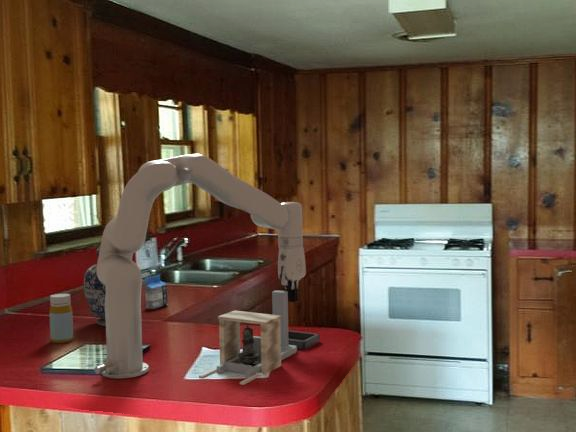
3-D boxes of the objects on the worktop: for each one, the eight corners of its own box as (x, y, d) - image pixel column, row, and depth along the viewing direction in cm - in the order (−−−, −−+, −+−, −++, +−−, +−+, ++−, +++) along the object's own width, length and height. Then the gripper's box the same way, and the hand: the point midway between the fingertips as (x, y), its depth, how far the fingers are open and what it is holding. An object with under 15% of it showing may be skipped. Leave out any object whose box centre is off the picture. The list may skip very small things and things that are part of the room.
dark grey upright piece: (248, 362, 195) (247, 321, 194) (263, 366, 191) (262, 324, 190) (233, 367, 190) (232, 325, 189) (249, 371, 186) (248, 328, 185)
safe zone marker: (243, 384, 175) (243, 383, 175) (198, 377, 182) (198, 375, 182) (262, 375, 183) (261, 373, 183) (218, 367, 190) (218, 366, 190)
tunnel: (266, 374, 184) (265, 322, 183) (219, 366, 191) (217, 316, 190) (282, 365, 191) (281, 315, 190) (235, 358, 199) (234, 310, 198)
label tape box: (153, 309, 267) (152, 278, 266) (145, 308, 269) (144, 277, 268) (168, 305, 275) (167, 275, 274) (160, 304, 277) (159, 274, 276)
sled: (248, 377, 181) (247, 310, 179) (216, 372, 186) (215, 306, 185) (298, 351, 205) (297, 291, 203) (268, 347, 210) (267, 289, 209)
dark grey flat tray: (304, 349, 207) (304, 341, 206) (270, 345, 212) (270, 337, 212) (319, 341, 215) (319, 334, 215) (286, 337, 221) (286, 330, 221)
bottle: (67, 336, 227) (65, 292, 226) (77, 340, 222) (75, 295, 221) (47, 341, 222) (44, 295, 221) (56, 344, 217) (54, 298, 216)
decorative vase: (76, 320, 250) (74, 244, 247) (124, 314, 260) (123, 241, 258) (96, 332, 232) (94, 250, 230) (147, 325, 243) (146, 246, 241)
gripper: (289, 246, 201) (290, 307, 203) (312, 240, 214) (313, 297, 216) (267, 244, 205) (269, 305, 206) (291, 239, 218) (293, 295, 219)
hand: (292, 301), depth 211 cm, fingers closed
